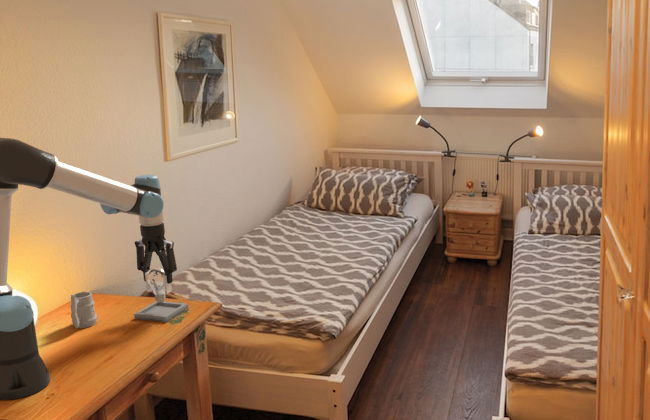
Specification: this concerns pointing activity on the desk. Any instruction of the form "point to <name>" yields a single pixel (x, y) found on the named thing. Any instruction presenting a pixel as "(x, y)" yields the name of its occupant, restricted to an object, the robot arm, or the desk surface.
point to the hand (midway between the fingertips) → (159, 291)
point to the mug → (83, 310)
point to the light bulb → (157, 283)
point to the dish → (161, 311)
